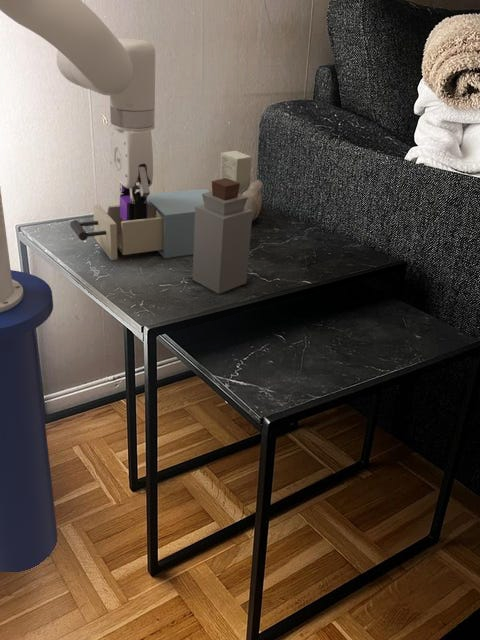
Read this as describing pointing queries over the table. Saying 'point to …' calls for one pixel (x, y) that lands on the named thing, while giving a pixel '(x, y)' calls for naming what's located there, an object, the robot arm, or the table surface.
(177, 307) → the table surface
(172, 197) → the drawer cabinet
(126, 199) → the purple rounded cube
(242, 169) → the cosmetic box
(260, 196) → the decorative bird
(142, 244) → the beige drawer
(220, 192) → the perfume bottle
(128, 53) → the robot arm
